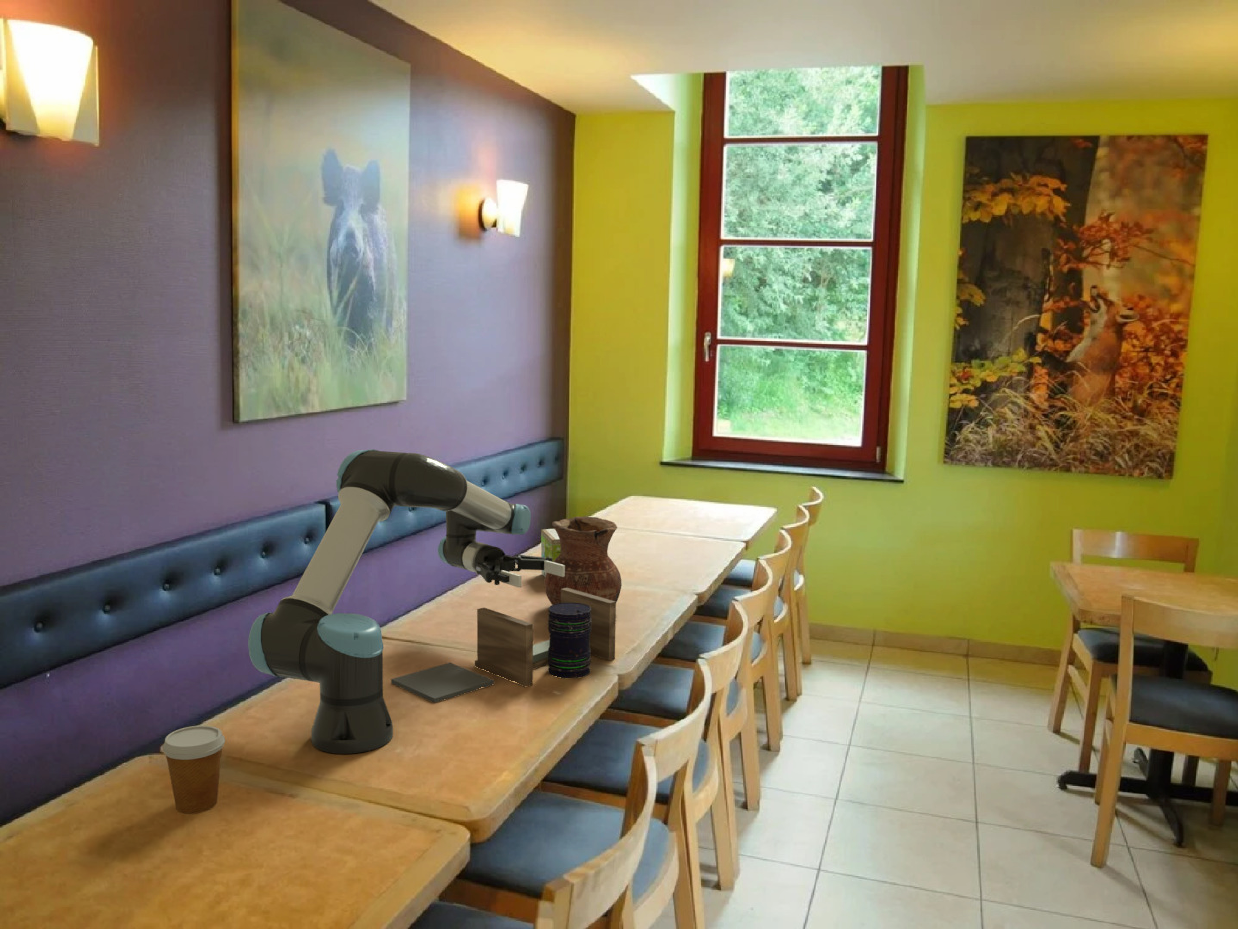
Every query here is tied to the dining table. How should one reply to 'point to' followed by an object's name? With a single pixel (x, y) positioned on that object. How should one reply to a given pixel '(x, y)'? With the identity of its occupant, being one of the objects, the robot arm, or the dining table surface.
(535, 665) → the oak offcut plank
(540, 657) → the grey offcut plank
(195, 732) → the disposable coffee cup
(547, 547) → the tea box
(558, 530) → the jug
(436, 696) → the charcoal mat
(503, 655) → the wooden bookend pair
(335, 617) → the robot arm
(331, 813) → the dining table surface
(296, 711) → the dining table surface
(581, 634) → the dark blue cylinder
